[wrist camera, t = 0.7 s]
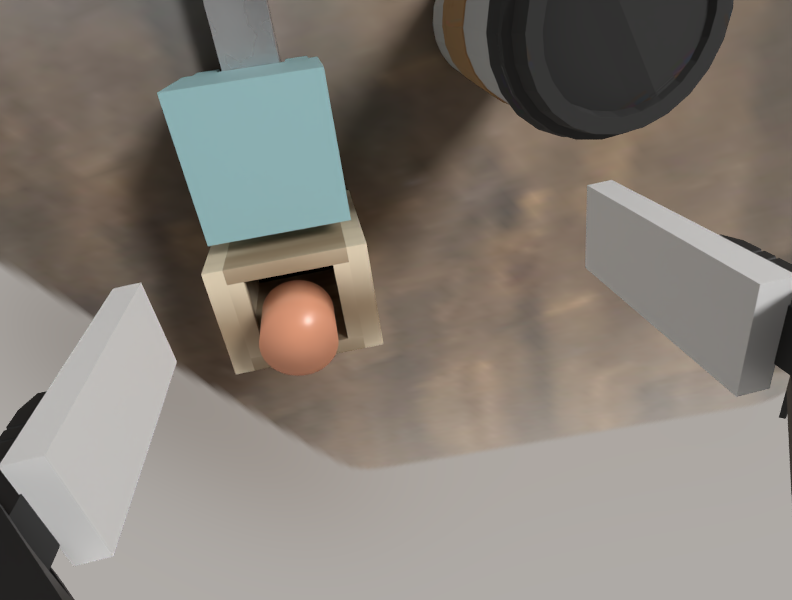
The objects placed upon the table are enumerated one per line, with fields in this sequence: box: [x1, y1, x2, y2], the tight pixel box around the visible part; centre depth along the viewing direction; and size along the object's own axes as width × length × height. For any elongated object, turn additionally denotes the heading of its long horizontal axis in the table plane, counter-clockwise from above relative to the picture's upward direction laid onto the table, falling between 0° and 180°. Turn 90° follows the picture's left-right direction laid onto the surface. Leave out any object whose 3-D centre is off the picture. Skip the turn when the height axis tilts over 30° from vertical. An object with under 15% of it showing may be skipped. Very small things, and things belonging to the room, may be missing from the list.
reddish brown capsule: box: [259, 280, 339, 376], centre depth 26 cm, size 4×4×3 cm
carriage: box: [157, 56, 351, 246], centre depth 27 cm, size 7×7×8 cm
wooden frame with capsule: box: [201, 190, 383, 374], centre depth 31 cm, size 6×8×9 cm
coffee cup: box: [433, 0, 733, 139], centre depth 24 cm, size 8×8×15 cm
